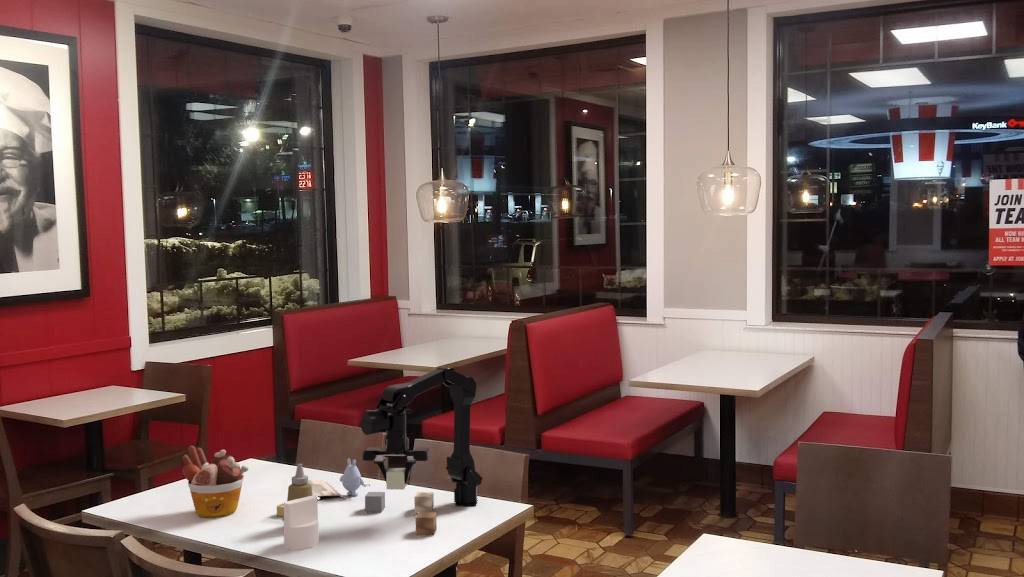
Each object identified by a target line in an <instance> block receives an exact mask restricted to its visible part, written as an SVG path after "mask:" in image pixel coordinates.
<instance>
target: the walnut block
mask: <svg viewBox="0 0 1024 577" xmlns="http://www.w3.org/2000/svg"><path fill="white" fill-rule="evenodd" d="M416 514H417V515H416V516H415V536H435V534H436V531H437V528H438V527H437V526H438V525H437V512H434V511H432V512H419V513H416Z"/></svg>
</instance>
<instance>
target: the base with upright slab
mask: <svg viewBox="0 0 1024 577" xmlns="http://www.w3.org/2000/svg"><path fill="white" fill-rule="evenodd" d="M283 504H284V516H283V541H284V542H283V544H284V545H283V546H284V548H286V549H288V550H293V551H294V550H295V551H299V550H307V549H312V548H315V547H316V546H318V545H319V540H320V538H319V535H320V534H319V516H318V515H319V512H318V507H319V506H318V500H317V497H315V496H309V497H304V498H300V499H295V500H291V501H284V502H283Z"/></svg>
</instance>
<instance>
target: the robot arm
mask: <svg viewBox="0 0 1024 577" xmlns="http://www.w3.org/2000/svg"><path fill="white" fill-rule="evenodd" d="M441 384H443V385H445V387H448V388H449V396H450V399H451V400H452V403H453V404H454V406H453V407H454V408H453V409H454V410H453V412H454V413H453V414H454V416H453V417H454V418H453V451H452V454H451V455H450V456H447V457H446V467H445V470H447V474H448V476H449V477H450V478H451V479H450V480H451V482H452V483H455V487H454V489H453V497H454V498H453V501H454V503H455V504H454V505H455V506H456V505H476V504H478V502H479V499H478V486H480V485H481V484H482V481H483V477H482V475H480V474H479V473H478V472H477V471H476V466H475V460H474V458H473V456H472V453H471V451H470V450H471V449H470V448H471V446H470V444H471V405H472V403H473V402H474V399H475V398H476V395H477V387H478V386H477V381H476V380H475V378H474V377H471V376H466V375H463V374H461V373H458V372H456V371H455V370H453V369H451V368H450V367H444V366H438V367H437V368H435V369H434V370H431V371H430V372H428V373H425V374H423V375H421V376H419V377H416V378H415V379H413V380H411V381H408V382H404V383H403V382H402V383H396V384H391V385H388V386H386V387H385V388H384V389H383V392H382V395H381V397H380V398H379V400H378V402H377V403H376V406H375V407H374V409H372V410H370V409H367V410H365V411H364V415H363V416H362V417H361V421H360V428H361V431H362V433H363V434H364V435H365V436H369V435H370V436H371V435H375V434H382V433H385V438H384V445H385V447H386V448H385V449H386V450H381V449H380V447H379V446H377V447H376V446H375V447H374V446H368V447H367V448H366V449H365V450H363V451H362V461H366V462H372V461H373V464H375V465H377V466H378V468H379V469H380V471H381V474H382V477H383V479H384V481H385V482H386V472H387V471H388V470H389V468H388V458H406V459H407V460H406V461H405V466H404V468H405V484H408V480H409V478H410V474H411V470H412V468H413V466H414V465H416V464H417V462H427V461H428V460H429V458H430V456H431V454H430V453H431V452H430V449H429V447H427V446H426V447H419V446H417V447H415V449H413V450H409V449H410V438H409V437H407V414H412V413H413V410H412V409H410V408H409V407H408V405H409V404H411V403H412V402H413V401H414V399H415V398H416V396H418V395H420V394H422V393H425V392H426V391H428V390H429V391H430V389H432V388H435V387H437V386H439V385H441ZM477 499H478V500H477ZM477 501H478V502H477ZM476 506H477V505H476Z"/></svg>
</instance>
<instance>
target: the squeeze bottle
mask: <svg viewBox="0 0 1024 577" xmlns="http://www.w3.org/2000/svg"><path fill="white" fill-rule="evenodd" d="M308 480H309V476H308V475H305V471H304V467H303V464H302V463H297V467H296V471H295V475H293V476H292V477H291V484H289V486H288V487H287V488H288V490H287V498H286V500H287V501H291V500H295V499H300V498H304V497H309V496H313V494H312V486H311V484H310V483H308ZM287 501H286V502H287Z"/></svg>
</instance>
